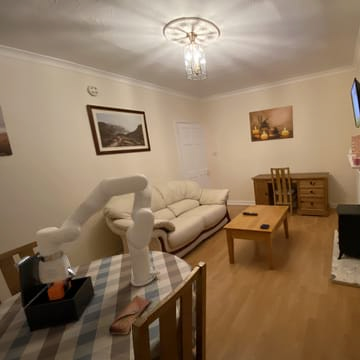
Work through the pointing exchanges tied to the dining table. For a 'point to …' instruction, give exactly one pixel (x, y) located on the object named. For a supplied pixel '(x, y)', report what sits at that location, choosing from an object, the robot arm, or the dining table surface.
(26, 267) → the box lid
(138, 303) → the sunglasses case
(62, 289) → the packet
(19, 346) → the dining table surface
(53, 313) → the black box
